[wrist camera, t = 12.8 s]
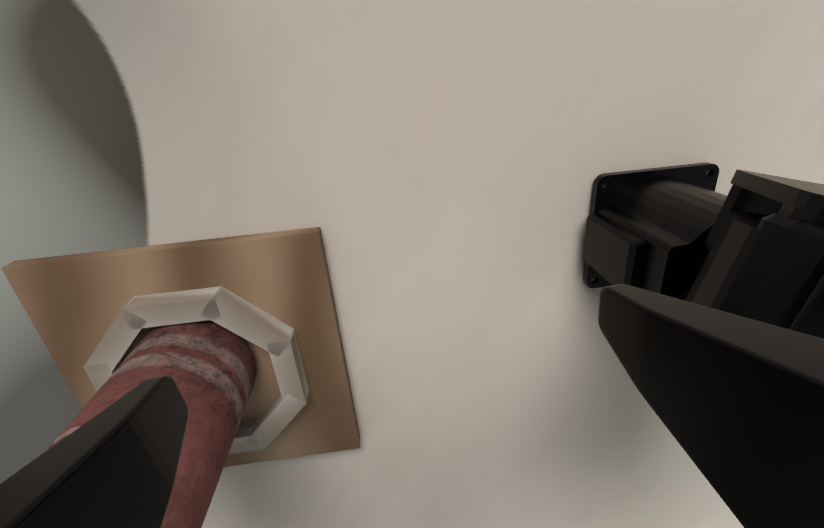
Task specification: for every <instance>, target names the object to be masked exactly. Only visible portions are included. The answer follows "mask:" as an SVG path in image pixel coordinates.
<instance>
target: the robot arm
mask: <svg viewBox="0 0 824 528" xmlns="http://www.w3.org/2000/svg"><path fill="white" fill-rule="evenodd" d="M707 170H709V172H708V174H707V175H706V176H705V173H706V171H707ZM718 174H719V168H718V166H717V165H715V164H712V163H697V164H688V165H679V166H670V167H660V168H651V169H642V170H632V171H623V172H614V173H605V174H601V175H599V176H598V177H597V178H596V179H595V180H594V184H593V192H592V201H591V210H590V215H589V216H588V218H587V223H586V233H585V242H584V252H583V260H584V261H585V266H584V275H583V281H584V283H585V284H586V285H587V286H588V287H590V288H600V287H604V288H603V289H602V290H601V292H600V303H599V317H598V321H599V326H600V329H601V331H602V333H603V334H604V336H605V337H606V339H607V341H608V342H609V344H610V346H611V347H612V349H613V350H614V352H615V354H616V355H617V357H618V359H619V360H620V362H621V363H622V365H623V367H624V368H625V370H626V372H627V373H628V375H629V376H630V378H631V380H632V381H633V383H634V384H635V386H636V387H637V389H638V390H639V392H640V393H641V394H642V396H643V397H644V398H645V400H646V401H647V402H648V404H649V405H650V406H651V407H652V409H653V410H654V411H655V413H656V414H657V415H658V416H659V418H660V419H661V420H662V422H663V423H664V424H665V426H666V427H667V428H668V429H669V431H670V432H671V433H672V435H673V436H674V437H675V439H676V440H677V441H678V442H679V444H680V445H681V446H682V448H683V449H684V450H685V452H686V453H687V454H688V455H689V457H690V458H691V459H692V461H693V462H694V463H695V464H696V466H697V467H698V468H699V470H700V471H701V472H702V474H703V475H704V476H705V477H706V479H707V480H708V481H709V483H710V484H711V485H712V487H713V488H714V489H715V490H716V492H717V493H718V494H719V496H720V497H721V498H722V499H723V501H724V502H725V503H726V505H727V506H728V507H729V509H730V510H731V511H732V512H733V514H734V515H735V516H736V518H737V519H738V520H739V522H740V523H741V524H742V525H743V527H744V528H824V185H823V184H817V183H812V182H806V181H800V180H794V179H789V178H783V177H777V176H772V175H766V174H760V173H755V172H749V171H743V170H736V172H735V174H734V176H733V179H732V181H731V183H732V184H733V186H732V188H731V190H730V192H729V194H728V196H726V195H723V194H720V193H717V192H714V191H715V187H716V183H717V179H718ZM606 180H607V185H606V186H605V187H604V188H602V184H603V182H604V181H606ZM595 276H596V278H595V279H594V280H593V281H591V279H592V278H593V277H595ZM187 420H188V407H187V404H186V402H185V400H184V398H183V396H182V394H181V392H180V390H179V388H178V387H177V385H176V383H175V381H174V379H173V378H172V377H170V376H167V375H165V376H160V377H155V378H150V379H147V380H145V381H143V382H142V383H140V384H139V385H138V386H136V387H135V388H133V389H132V390H131V391H129V392H128V393H126V394H125V395H124V396H122V397H121V398H120V399H118V400H117V401H115V402H114V403H113V404H111V405H110V406H108V407H107V408H106V409H104V410H103V411H101V412H100V413H99V414H97V415H96V416H94V417H93V418H92V419H90V420H89V421H87V422H86V423H85V424H83V425H82V426H80V427H79V428H78V429H76V430H75V431H74V432H72V433H71V434H69V435H68V436H67V437H65V438H64V439H62V440H61V441H60V442H58V443H57V444H55V445H54V446H53V447H51V448H50V449H48V450H47V451H46V452H44V453H43V454H41V455H40V456H39V457H37V458H36V459H35V460H33V461H32V462H30V463H29V464H28V465H26V466H25V467H23V468H22V469H21V470H19V471H18V472H17V473H15V474H14V475H12V476H11V477H9V478H8V479H7V480H5V481H4V482H2V483H1V484H0V528H161V525H162V522H163V519H164V516H165V513H166V510H167V507H168V503H169V500H170V497H171V493H172V490H173V486H174V482H175V477H176V473H177V468H178V463H179V458H180V454H181V449H182V444H183V439H184V435H185V430H186V425H187Z"/></svg>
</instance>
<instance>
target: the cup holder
mask: <svg viewBox="0 0 824 528" xmlns="http://www.w3.org/2000/svg"><path fill="white" fill-rule="evenodd" d="M2 270H3V272H4V273H5V275H6V277H7V279H8V280H9V282H10V284H11V286H12V287H13V289H14V291H15V293H16V294H17V296H18V298H19V300H20V301H21V303H22V305H23V307H24V309H25V310H26V312H27V314H28V316H29V317H30V319H31V321H32V323H33V324H34V326H35V328H36V330H37V331H38V333H39V335H40V336H41V338H42V340H43V342H44V343H45V345H46V347H47V349H48V351H49V352H50V354H51V356H52V358H53V359H54V361H55V363H56V364H57V366H58V368H59V370H60V371H61V373H62V375H63V377H64V379H65V380H66V382H67V384H68V386H69V387H70V389H71V391H72V393H73V394H74V396H75V398H76V400H77V401H78V403H79V405H80V407H81V408H82V409H83V408H84V406H85V405H86V404H87V403H88V402H89V401H90V399H91V398H92V397H93V396H94V395H95V394H96V392H97V391H98V390H99V389H100V388H101V387H102V385H103V384H104V383H105V382H106V381H107V380H108V378H109V377H110V376H111V375H112V374H113V373H114V371H115V370H116V369H117V368H118V367H119V366H120V364H121V363H122V362H123V361H124V360H125V359H126V357H127V356H128V355H129V354H130V353H131V352H132V350H133V349H134V348H135V347H136V346H137V345H138V343H139V342H140V341H141V340H142V339H143V338H144V336H145V335H147V334H148V333H149V332H151V331H152V330H153V329H154V328H156V327H157V326H165V325H173V324H181V323H189V322H198V321H206V320H210V321H213V322H215V323H217V324H219V325H220V326H222V327H224V328H226V329H228V330H230V331H231V332H233V333H235V334H237V335H239V336H240V337H241V338H243V339H244V341H245V342H246V344H247V345H248V347H249V349H250V350H251V352H252V353H253V355H254V357H255V362H256V367H257V374H256V379H255V383H254V386H253V389H252V392H251V394H250V397H249V400H248V402H247V405H246V408H245V411H244V413H243V416H242V419H241V421H240V424H239V427H238V429H237V432H236V435H235V438H234V440H233V443H232V446H231V448H230V451H229V454H228V457H227V459H226V462H225V465H224V467H226V466H233V465H240V464H248V463H255V462H262V461H269V460H276V459H283V458H291V457H298V456H305V455H312V454H319V453H326V452H334V451H341V450H348V449H355V448H360V434H359V429H358V423H357V418H356V413H355V408H354V402H353V397H352V392H351V387H350V381H349V376H348V371H347V366H346V360H345V355H344V350H343V345H342V339H341V334H340V329H339V324H338V318H337V313H336V308H335V303H334V297H333V292H332V287H331V282H330V276H329V271H328V266H327V261H326V255H325V250H324V245H323V240H322V234H321V229H320V227H317V228H308V229H299V230H290V231H281V232H272V233H262V234H253V235H244V236H235V237H226V238H217V239H208V240H199V241H190V242H181V243H172V244H163V245H154V246H145V247H136V248H127V249H119V250H109V251H100V252H91V253H82V254H73V255H64V256H55V257H46V258H38V259H28V260H19V261H14V262H12V263H10V264H8V265H6V266H4V267H2Z"/></svg>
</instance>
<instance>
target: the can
mask: <svg viewBox="0 0 824 528" xmlns="http://www.w3.org/2000/svg"><path fill="white" fill-rule="evenodd" d="M256 374H257V367H256V362H255V357H254V355H253V353H252V352H251V350H250V349H249V347H248V345H247V344H246V342H245V341H244V339H243V338H241V337H240V336H239V335H237V334H235V333H233V332H231V331H230V330H228V329H226V328H224V327H222V326H220V325H219V324H217V323H215V322H213V321H210V320H206V321H198V322H189V323H181V324H173V325H165V326H157V327H156V328H154V329H153V330H152V331H151V332H149V333H148V334H147V335H145V336H144V338H143V339H142V340H141V341H140V342H139V343H138V345H137V346H136V347H135V348H134V349H133V350H132V352H131V353H130V354H129V355H128V356H127V357H126V359H125V360H124V361H123V362H122V363H121V364H120V366H119V367H118V368H117V369H116V370H115V371H114V373H113V374H112V375H111V376H110V377H109V378H108V380H107V381H106V382H105V383H104V384H103V385H102V387H101V388H100V389H99V390H98V391H97V392H96V394H95V395H94V396H93V397H92V398H91V399H90V401H89V402H88V403H87V404H86V405H85V406H84V408H83V409H82V410H81V411H80V412H79V413H78V415H77V416H76V417H75V418H74V419H73V420H72V422H71V423H70V424H69V425H68V426H67V427H66V429H65V430H64V431H63V432H62V434H60V436H59V437H58V438H57V439H56V440H55V441H54V443H53V444H52V445H51V446H50V447H49V448H48V449H50V448H51V447H53V446H54V445H55V444H57V443H58V442H60V441H61V440H62V439H64V438H65V437H67V436H68V435H69V434H71V433H72V432H74V431H75V430H76V429H78V428H79V427H80V426H82V425H83V424H85V423H86V422H87V421H89V420H90V419H92V418H93V417H94V416H96V415H97V414H99V413H100V412H101V411H103V410H104V409H106V408H107V407H108V406H110V405H111V404H113V403H114V402H115V401H117V400H118V399H120V398H121V397H122V396H124V395H125V394H126V393H128V392H129V391H131V390H132V389H133V388H135V387H136V386H138V385H139V384H140V383H142V382H143V381H145V380H147V379H150V378H155V377H160V376H165V375H167V376H170V377H172V378H173V379H174V381H175V383H176V385H177V387H178V388H179V390H180V392H181V394H182V396H183V398H184V400H185V402H186V404H187V407H188V420H187V425H186V430H185V435H184V439H183V444H182V449H181V454H180V458H179V463H178V468H177V473H176V477H175V482H174V486H173V490H172V493H171V497H170V500H169V503H168V507H167V510H166V513H165V516H164V519H163V522H162V525H161V528H201V527H202V524H203V521H204V519H205V516H206V513H207V511H208V508H209V505H210V503H211V500H212V497H213V494H214V492H215V489H216V486H217V484H218V481H219V478H220V475H221V473H222V470H223V467H224V465H225V462H226V459H227V457H228V454H229V451H230V448H231V446H232V443H233V440H234V438H235V435H236V432H237V429H238V427H239V424H240V421H241V419H242V416H243V413H244V411H245V408H246V405H247V402H248V400H249V397H250V394H251V392H252V389H253V386H254V383H255V379H256Z"/></svg>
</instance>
